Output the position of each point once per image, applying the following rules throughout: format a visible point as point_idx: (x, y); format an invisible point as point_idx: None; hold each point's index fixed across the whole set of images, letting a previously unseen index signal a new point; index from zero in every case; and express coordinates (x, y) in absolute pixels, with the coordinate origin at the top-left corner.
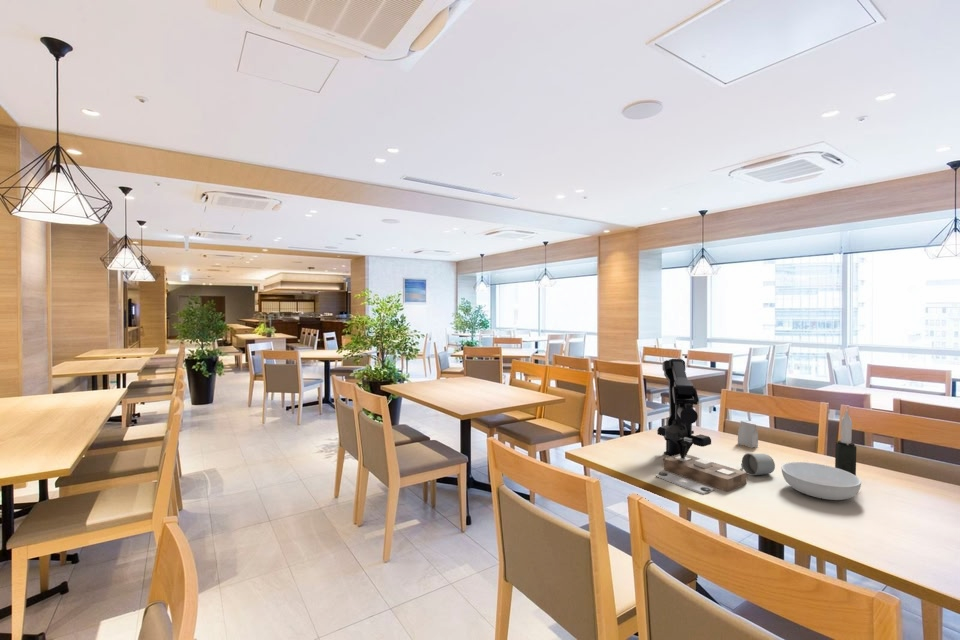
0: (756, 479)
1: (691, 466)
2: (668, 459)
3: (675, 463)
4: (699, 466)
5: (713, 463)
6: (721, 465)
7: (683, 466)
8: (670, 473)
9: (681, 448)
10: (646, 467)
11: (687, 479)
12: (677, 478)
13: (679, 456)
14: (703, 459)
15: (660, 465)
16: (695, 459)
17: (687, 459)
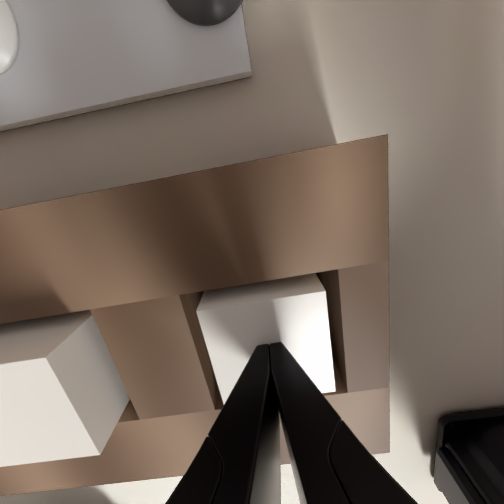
0: (21, 496)
1: (32, 249)
2: (332, 178)
3: (204, 172)
4: (34, 329)
5: (80, 469)
6: (28, 482)
7: (98, 192)
8: (197, 82)
9: (295, 470)
10: (467, 3)
11: (26, 120)
12: (62, 37)
13: (325, 358)
14: (67, 452)
15: (415, 196)
16: (210, 427)
17: (216, 361)
